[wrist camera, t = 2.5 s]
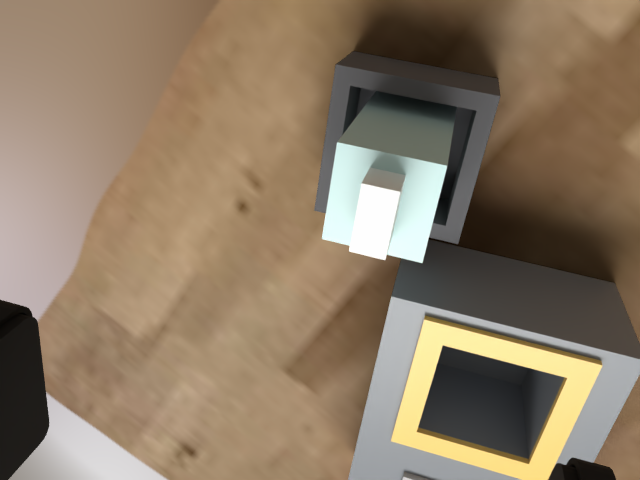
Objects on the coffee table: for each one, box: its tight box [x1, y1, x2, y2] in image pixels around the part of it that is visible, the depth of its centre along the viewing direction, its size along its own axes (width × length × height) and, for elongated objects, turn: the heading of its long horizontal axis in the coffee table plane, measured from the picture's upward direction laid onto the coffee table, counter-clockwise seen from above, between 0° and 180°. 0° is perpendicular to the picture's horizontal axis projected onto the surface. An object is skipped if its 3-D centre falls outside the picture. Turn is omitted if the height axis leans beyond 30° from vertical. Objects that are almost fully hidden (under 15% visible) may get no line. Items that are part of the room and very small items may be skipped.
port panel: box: [348, 239, 640, 480], centre depth 29 cm, size 16×10×6 cm, turn 172°
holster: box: [314, 51, 500, 244], centre depth 25 cm, size 6×6×4 cm
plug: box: [322, 91, 457, 263], centre depth 22 cm, size 4×4×10 cm
